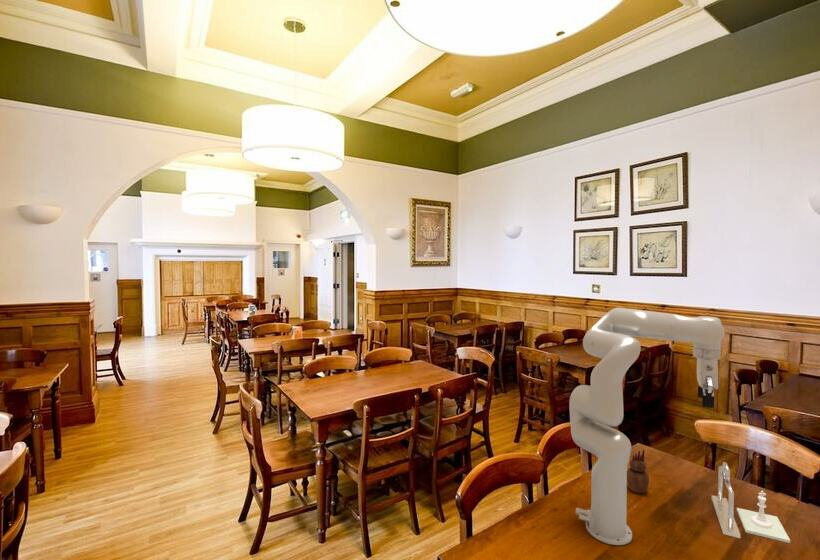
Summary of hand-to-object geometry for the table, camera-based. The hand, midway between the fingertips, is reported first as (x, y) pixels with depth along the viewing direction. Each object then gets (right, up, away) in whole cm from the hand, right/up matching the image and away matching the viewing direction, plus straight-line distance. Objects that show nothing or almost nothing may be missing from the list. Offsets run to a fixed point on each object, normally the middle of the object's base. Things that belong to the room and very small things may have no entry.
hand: (705, 402), depth 138 cm
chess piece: (+6, -33, -15) cm, 36 cm away
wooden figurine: (-21, -33, +4) cm, 39 cm away
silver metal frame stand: (-2, -33, -11) cm, 35 cm away
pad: (+6, -33, -15) cm, 37 cm away
